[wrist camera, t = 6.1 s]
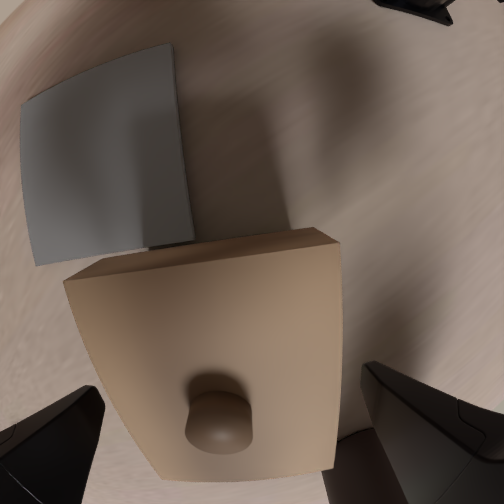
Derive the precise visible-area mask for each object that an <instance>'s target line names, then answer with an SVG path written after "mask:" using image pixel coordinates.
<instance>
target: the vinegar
mask: <svg viewBox="0 0 504 504" xmlns="http://www.w3.org/2000/svg"><path fill="white" fill-rule="evenodd" d="M321 472H322V476H323V480H324V484H325V488H326V492H327V496H328V500H329V504H409V503H408V501H407V499H406V496H405V494H404V492H403V489H402V487H401V485H400V483H399V480H398V478H397V476H396V474H395V471H394V469H393V467H392V465H391V463H390V460H389V458H388V456H387V454H386V452H385V450H384V448H383V445H382V443H381V441H380V439H379V437H378V435H377V433H376V431H375V429H369V430H365V431H361V432H358V433H356V434H353V435H351V436H349V437H347V438H345V439H343V440H342V441H340V442H338V443H336V451H335V459H334V466H333V468H332V469H327V470H323V471H321Z"/></svg>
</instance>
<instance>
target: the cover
mask: <svg viewBox="0 0 504 504" xmlns="http://www.w3.org/2000/svg"><path fill="white" fill-rule="evenodd" d="M63 284H64V288H65V291H66V294H67V297H68V301H69V304H70V307H71V310H72V313H73V316H74V318H75V321H76V324H77V327H78V329H79V332H80V335H81V337H82V340H83V342H84V345H85V347H86V350H87V352H88V354H89V357H90V359H91V361H92V363H93V366H94V368H95V370H96V372H97V374H98V376H99V379H100V381H101V383H102V385H103V387H104V389H105V391H106V393H107V395H108V396H109V398H110V400H111V402H112V404H113V406H114V408H115V409H116V411H117V413H118V415H119V416H120V418H121V420H122V422H123V423H124V425H125V427H126V428H127V430H128V432H129V433H130V435H131V436H132V438H133V439H134V441H135V443H136V444H137V446H138V447H139V449H140V450H141V452H142V453H143V454H144V456H145V457H146V459H147V460H148V462H149V463H150V464H151V466H152V467H153V469H154V470H155V471H156V473H157V474H158V475H159V476H160V478H161V479H162V480H172V481H187V482H240V481H255V480H266V479H275V478H283V477H290V476H296V475H302V474H308V473H313V472H318V471H323V470H327V469H332V468H333V466H334V459H335V451H336V442H337V433H338V422H339V410H340V396H341V377H342V342H343V311H342V276H341V256H340V243H339V242H338V241H336V240H334V239H333V238H331V237H329V236H328V235H326V234H324V233H323V232H321V231H319V230H317V229H316V228H314V227H311V228H303V229H296V230H288V231H281V232H274V233H266V234H259V235H252V236H245V237H238V238H231V239H224V240H218V241H211V242H204V243H197V244H191V245H184V246H178V247H171V248H165V249H158V250H152V251H146V252H139V253H133V254H127V255H121V256H115V257H109V258H103V259H101V260H99V261H97V262H96V263H94V264H92V265H90V266H88V267H87V268H85V269H83V270H81V271H80V272H78V273H76V274H75V275H73V276H71V277H69V278H68V279H66V280H64V281H63Z"/></svg>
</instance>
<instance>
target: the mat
mask: <svg viewBox="0 0 504 504" xmlns="http://www.w3.org/2000/svg"><path fill="white" fill-rule="evenodd" d="M20 162H21V179H22V190H23V199H24V207H25V214H26V221H27V227H28V232H29V238H30V243H31V247H32V252H33V256H34V261H35V265H36V266H40V265H45V264H51V263H56V262H62V261H68V260H73V259H79V258H85V257H91V256H97V255H103V254H109V253H115V252H121V251H127V250H133V249H139V248H146V247H152V246H158V245H165V244H171V243H178V242H185V241H191V240H194V239H195V238H196V237H195V231H194V225H193V219H192V213H191V206H190V200H189V193H188V186H187V179H186V172H185V164H184V157H183V149H182V140H181V132H180V122H179V113H178V103H177V92H176V80H175V67H174V52H173V46H172V44H171V42H170V43H166V44H162V45H159V46H155V47H151V48H148V49H144V50H141V51H138V52H135V53H132V54H129V55H126V56H123V57H120V58H117V59H114V60H112V61H109V62H106V63H104V64H101V65H99V66H96V67H94V68H91V69H89V70H87V71H84V72H82V73H80V74H78V75H76V76H73V77H71V78H69V79H67V80H65V81H63V82H61V83H59V84H57V85H55V86H53V87H52V88H50V89H48V90H46V91H44V92H42V93H41V94H39V95H37V96H35V97H34V98H32V99H30V100H29V101H27V102H25V103H24V104H22V105H21V118H20Z"/></svg>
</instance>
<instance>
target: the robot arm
mask: <svg viewBox="0 0 504 504" xmlns="http://www.w3.org/2000/svg"><path fill="white" fill-rule="evenodd" d="M374 1H375V3H377V4H378V5H380V6H382V7H386V8H390V9H394V10H398V11H402V12H406V13H409V14H413V15H416V16H420V17H423V18H426V19H429V20H432V21H435V22H438V23H440V24H443V25H446V26H450V25H452V24H453V20H452V18H451V16H450V14H449V12H448V10H447V8H446V7H447V6H448V5H450V4H451V3H452V2H454V1H455V0H383V1H382V0H374ZM497 1H498V2H499V3H502V2H504V0H497ZM360 385H361V390H362V393H363V396H364V399H365V402H366V405H367V408H368V411H369V414H370V417H371V420H372V423H373V426H374V428H375V431H376V433H377V435H378V437H379V439H380V441H381V443H382V445H383V448H384V450H385V452H386V454H387V456H388V458H389V460H390V463H391V465H392V467H393V469H394V471H395V474H396V476H397V478H398V480H399V483H400V485H401V487H402V489H403V492H404V494H405V496H406V499H407V501H408V503H409V504H504V414H501V413H497V412H493V411H490V410H487V409H484V408H481V407H478V406H475V405H473V404H470V403H468V402H465V401H463V400H460V399H458V400H457V398H456V397H453V396H451V395H449V394H446V393H444V392H442V391H440V390H437V389H435V388H433V387H431V386H428V385H426V384H424V383H422V382H420V381H417V380H415V379H413V378H411V377H409V376H407V375H404V374H402V373H400V372H398V371H396V370H394V369H392V368H390V367H388V366H385V365H383V364H381V363H379V362H377V361H370V362H366V363H364V364H363V365H362V371H361V381H360ZM104 412H105V403H104V401H103V399H102V397H101V395H100V393H99V391H98V389H97V388H96V387H95V386H91V385H85V386H83V387H81V388H79V389H77V390H76V391H74V392H72V393H70V394H69V395H67V396H65V397H63V398H62V399H60V400H58V401H56V402H55V403H53V404H51V405H49V406H47V407H46V408H44V409H42V410H40V411H38V412H37V413H35V414H33V415H31V416H29V417H27V418H26V419H24V420H22V421H20V422H18V423H17V424H14V425H12V426H11V427H9V428H7V429H5V430H3V431H1V432H0V504H81V503H82V499H83V495H84V491H85V487H86V483H87V479H88V476H89V472H90V469H91V465H92V462H93V458H94V455H95V451H96V448H97V445H98V441H99V436H100V431H101V426H102V422H103V417H104Z"/></svg>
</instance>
